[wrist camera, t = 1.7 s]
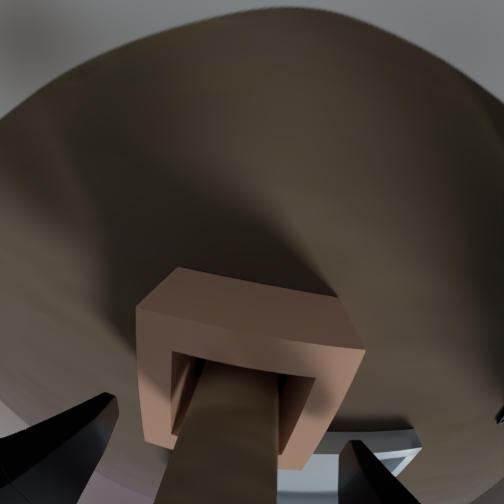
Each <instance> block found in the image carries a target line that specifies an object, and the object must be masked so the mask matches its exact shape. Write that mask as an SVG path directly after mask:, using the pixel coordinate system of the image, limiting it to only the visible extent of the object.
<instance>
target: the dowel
mask: <svg viewBox="0 0 504 504" xmlns="http://www.w3.org/2000/svg"><path fill="white" fill-rule="evenodd" d="M277 478H278V373H276V372H270V371H264V370H258V369H252V368H246V367H241V366H236V365H231V364H226V363H221V362H217V361H212V360H208V359H206V362H205V365H204V367H203V370H202V373H201V375H200V378H199V381H198V383H197V386H196V389H195V391H194V394H193V397H192V400H191V402H190V405H189V408H188V410H187V413H186V416H185V419H184V421H183V424H182V427H181V429H180V432H179V435H178V438H177V440H176V443H175V446H174V448H173V451H172V454H171V457H170V459H169V462H168V465H167V468H166V470H165V473H164V476H163V479H162V481H161V484H160V487H159V490H158V492H157V495H156V498H155V501H154V503H153V504H277Z"/></svg>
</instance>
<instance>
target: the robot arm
mask: <svg viewBox="0 0 504 504" xmlns="http://www.w3.org/2000/svg"><path fill="white" fill-rule="evenodd" d="M118 416H119V408H118V403H117V398H116V396H114V395H112V394H110V393H107V392H104V393H101V394H99V395H97V396H95V397H93V398H91V399H89V400H87V401H85V402H83V403H81V404H79V405H77V406H75V407H73V408H71V409H69V410H66V411H64V412H62V413H60V414H58V415H56V416H54V417H51V418H49V419H47V420H45V421H43V422H40V423H38V424H36V425H33V426H31V427H29V428H27V429H26V430H25V429H24V430H22V431H19V432H17V433H14V434H12V435H9V436H6V437H3V438H0V504H77V502H78V500H79V498H80V496H81V494H82V492H83V490H84V489H85V487H86V485H87V483H88V481H89V479H90V477H91V475H92V473H93V472H94V470H95V468H96V466H97V464H98V463H99V461H100V459H101V457H102V455H103V453H104V451H105V449H106V447H107V444H108V442H109V439H110V437H111V434H112V431H113V429H114V426H115V424H116V421H117V419H118ZM497 424H498V425H502V424H504V412H503V413H502V415H501V416H500V417H499V419H498V420H497ZM338 504H421V503H420V502H419V503H418V500H417V499H416V498H415V497H414V496H413V495H412V494H411V493H410V492H409V491H408V490H407V489H406V488H405V487H404V486H403V485H402V484H401V483H400V482H399V480H398V479H397V478H396V477H395V476H394V475H393V474H392V473H391V472H390V471H389V470H388V469H387V468H386V467H385V466H384V464H383V463H382V462H381V461H380V460H379V459H378V458H377V457H376V456H375V455H374V454H373V453H372V451H371V450H370V449H369V448H368V447H367V446H366V445H365V444H364V443H363V441H361V440H349V441H348V442H347V443H346V445H345V446H344V448H343V449H342V450H341V452H340V454H339V458H338Z"/></svg>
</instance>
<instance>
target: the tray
mask: <svg viewBox="0 0 504 504" xmlns="http://www.w3.org/2000/svg"><path fill="white" fill-rule="evenodd" d="M349 440H361V441H363V443H364V444H365V445H366V446H367V447H368V448H369V449H370V450H371V451H372V453H373V454H374V455H375V456H376V457H377V458H378V459H379V460H380V461H381V462H382V463H383V464H384V466H385V467H386V468H387V469H388V470H389V471H390V472H391V473H392V474H393V475H394V476H395V477H396V476H397V475H398V474H399V473H400V472H401V471H402V470H403V469H404V468H405V467H406V466H407V464H408V463H409V462H410V461H411V460H412V459H413V458H414V457H415V456H416V455H417V453H418V452H419V451H420V450H421V449H422V448H423V447H422V445H421V442H420V440H419V438H418V436H417V434H416V431H415V429H407V430H395V431H377V432H327V431H326V432H325V434H324V436H323V437H322V439H321V441H320V442H319V444H318V446H317V447H316V449H315V451H314V452H313V454H312V455H311V457H310V459H309V460H308V462H307V463H306V465H305V466H304V468H303V469H302V471H298V470H283V469H278V478H277V504H338V458H339V454H340V452H341V450H342V449H343V448H344V446H345V445H346V443H347V442H348V441H349Z"/></svg>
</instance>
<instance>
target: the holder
mask: <svg viewBox="0 0 504 504" xmlns="http://www.w3.org/2000/svg"><path fill="white" fill-rule="evenodd" d="M136 351H137V370H138V384H139V395H140V405H141V414H142V423H143V430H144V437H145V441H147V442H150V443H153V444H156V445H159V446H162V447H165V448H169V449H172V450H173V448H174V446H175V443H176V440H177V438H178V435H179V432H180V429H181V427H182V424H183V421H184V419H185V416H186V413H187V410H188V408H189V405H190V402H191V400H192V397H193V394H194V391H195V389H196V386H197V383H198V381H199V378H198V377H194V372H195V361H196V357H199V358H203V359H208V360H212V361H217V362H221V363H226V364H231V365H236V366H241V367H246V368H252V369H258V370H264V371H270V372H276V373H283V374H287V377H286V380H285V383H284V386H283V389H282V392H281V393H278V469H283V470H298V471H302V469H303V468H304V466H305V465H306V463H307V462H308V460H309V459H310V457H311V455H312V454H313V452H314V451H315V449H316V447H317V446H318V444H319V442H320V441H321V439H322V437H323V436H324V434H325V432H326V430H327V429H328V427H329V425H330V423H331V421H332V420H333V418H334V416H335V414H336V412H337V410H338V408H339V406H340V405H341V403H342V401H343V399H344V397H345V395H346V393H347V391H348V389H349V386H350V384H351V382H352V380H353V378H354V376H355V374H356V372H357V369H358V367H359V365H360V363H361V360H362V358H363V356H364V353H365V351H366V349H365V347H364V345H363V343H362V341H361V339H360V337H359V335H358V333H357V331H356V329H355V327H354V325H353V324H352V322H351V320H350V318H349V316H348V314H347V312H346V310H345V308H344V306H343V304H342V302H341V301H340V299H339V298H338V297H332V296H326V295H320V294H314V293H309V292H303V291H298V290H292V289H287V288H281V287H276V286H270V285H265V284H260V283H255V282H249V281H244V280H239V279H234V278H229V277H224V276H219V275H214V274H209V273H205V272H200V271H195V270H190V269H186V268H181V267H177V268H176V269H175V270H174V271H173V272H172V273H171V274H170V275H169V276H167V277H166V278H165V279H164V280H163V281H162V282H161V283H160V284H159V285H158V286H157V287H156V288H155V289H154V290H153V291H151V292H150V293H149V294H148V295H147V296H146V297H145V298H144V299H143V300H142V301H141V302H140V303H139V304H138V305H137V306H136Z"/></svg>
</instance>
